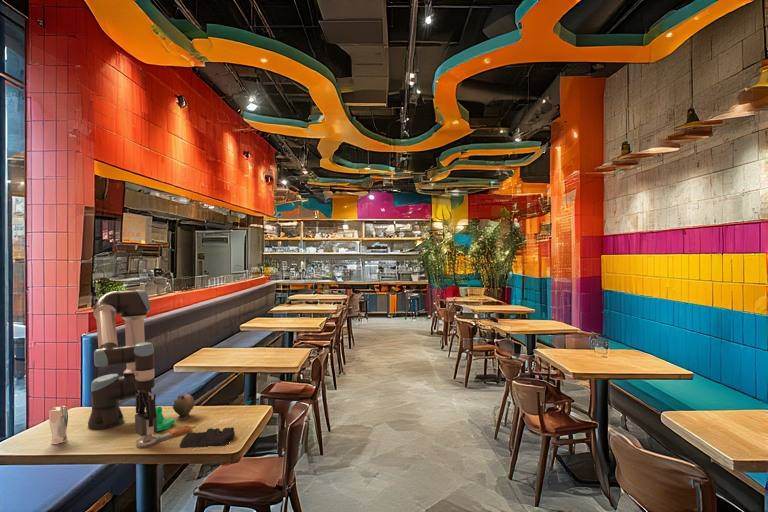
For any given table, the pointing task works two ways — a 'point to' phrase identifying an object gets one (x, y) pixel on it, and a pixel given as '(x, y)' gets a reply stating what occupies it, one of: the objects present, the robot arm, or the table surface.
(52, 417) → the beer glass
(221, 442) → the dark slate chunk
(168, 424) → the camera mount
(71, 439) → the table surface
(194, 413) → the table surface
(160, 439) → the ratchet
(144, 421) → the brushed brown cube
